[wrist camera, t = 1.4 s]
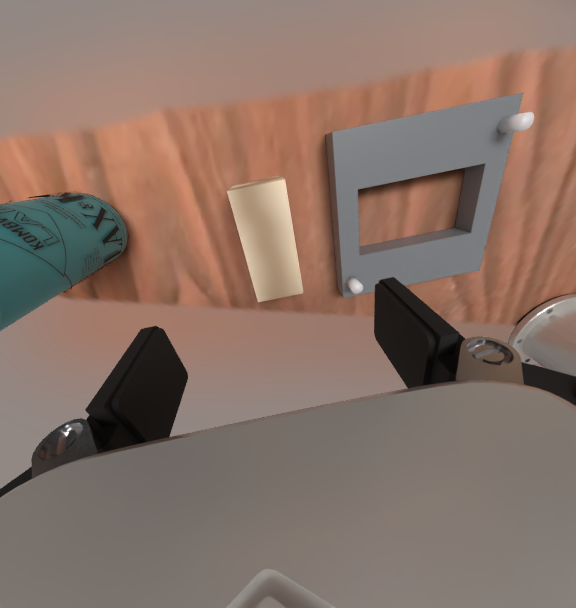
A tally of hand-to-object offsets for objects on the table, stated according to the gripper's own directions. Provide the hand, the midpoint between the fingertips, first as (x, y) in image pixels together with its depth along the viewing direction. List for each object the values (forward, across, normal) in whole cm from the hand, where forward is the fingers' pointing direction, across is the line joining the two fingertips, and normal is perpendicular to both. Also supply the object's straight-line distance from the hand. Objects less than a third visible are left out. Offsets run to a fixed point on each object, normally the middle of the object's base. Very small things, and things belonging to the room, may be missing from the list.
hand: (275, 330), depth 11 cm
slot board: (+18, -15, +1) cm, 23 cm away
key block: (+18, 0, 0) cm, 18 cm away
